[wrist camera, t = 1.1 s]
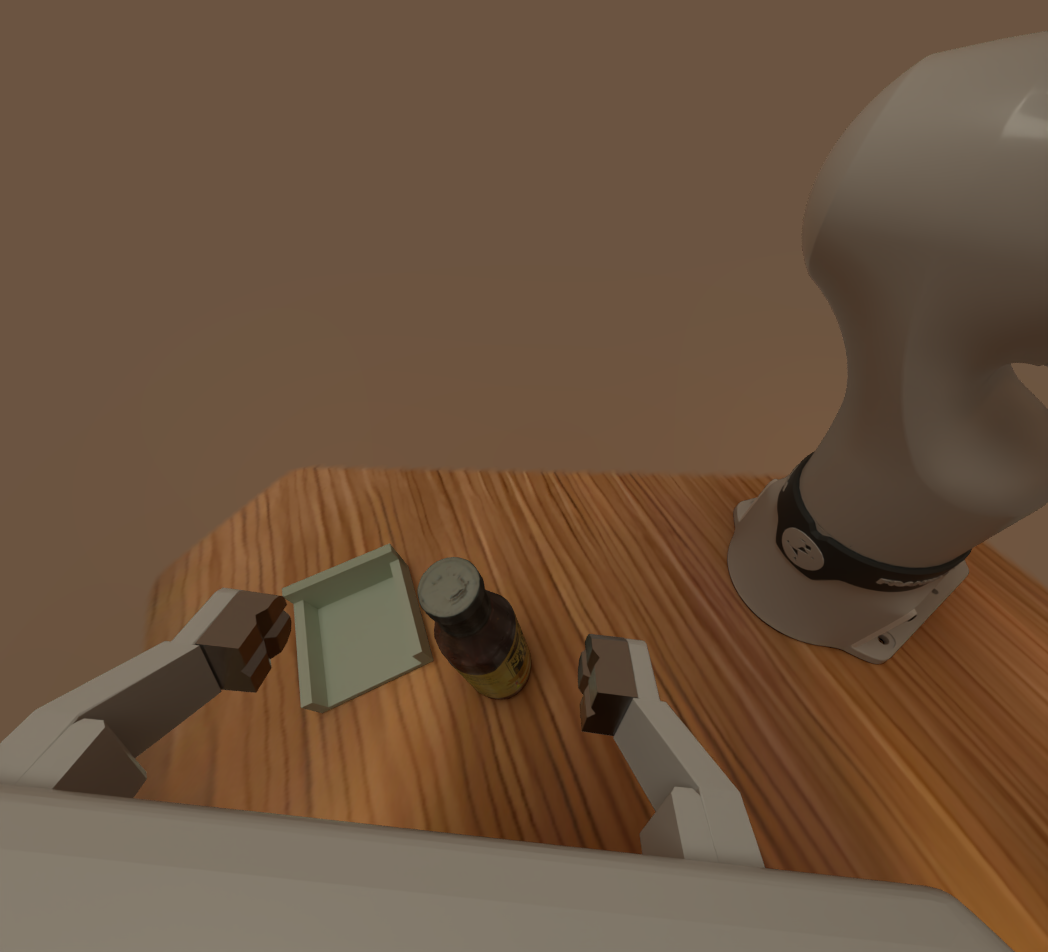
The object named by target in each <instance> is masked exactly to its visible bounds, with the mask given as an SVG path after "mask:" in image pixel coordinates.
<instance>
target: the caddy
mask: <svg viewBox="0 0 1048 952" xmlns="http://www.w3.org/2000/svg"><path fill="white" fill-rule="evenodd" d="M282 595H283V596H284V598H285V599H286V600H288V601H290V602H291V603H293V604H294V615H295V629H296V643H297V657H298V671H299V686H300V700H301V708H304V709H308V710H312V711H316V712H320V713H324V712H326V711H328V710H330V709H332V708H334V707H336V706H339V705H341V704H343V703H345V702H347V701H349V700H351V699H353V698H356V697H358V696H360V695H362V694H364V693H366V692H368V691H370V690H372V689H375V688H377V687H379V686H381V685H383V684H385V683H387V682H389V681H392V680H394V679H396V678H398V677H400V676H402V675H404V674H406V673H409V672H411V671H413V670H415V669H417V668H419V667H421V666H423V665H426V664H428V663H430V662H432V661H434V660H433V657H432V653H431V649H430V646H429V642H428V638H427V634H426V631H425V627H424V623H423V620H422V616H421V612H420V608H419V605H418V601H417V597H416V593H415V590H414V586H413V582H412V579H411V575H410V571H409V567H408V565H407V564H406V563H405V562H404V560H403V559H402V558H401V557H400V555H399V554H398V553H397V552H396V551H395V549H394V548H393V547H392V546H391V544H388V545H385V546H383V547H380V548H378V549H376V550H373V551H371V552H368V553H366V554H364V555H361V556H359V557H356V558H354V559H352V560H349V561H347V562H345V563H342V564H340V565H337V566H335V567H333V568H330V569H328V570H325V571H323V572H321V573H318V574H316V575H313V576H311V577H309V578H306V579H304V580H302V581H299V582H297V583H294V584H292V585H290V586H287V587H285V588H282Z"/></svg>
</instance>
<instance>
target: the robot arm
mask: <svg viewBox="0 0 1048 952" xmlns="http://www.w3.org/2000/svg"><path fill="white" fill-rule="evenodd" d="M802 251H803V256H804V261H805V265H806V268H807V271H808V274H809V276H810V277H811V279H812V280H813V281H814V282H815V284H816V285H817V286H818V287H819V289H820V290H821V292H822V293H823V295H824V296H825V298H826V299H827V301H828V303H829V305H830V306H831V309H832V310H833V312H834V314H835V316H836V319H837V321H838V324H839V327H840V330H841V332H842V336H843V340H844V344H845V348H846V355H847V364H848V365H847V366H848V367H847V368H848V379H847V388H846V393H845V397H844V400H843V403H842V405H841V407H840V409H839V411H838V413H837V415H836V417H835V419H834V421H833V423H832V425H831V427H830V428H829V430H828V432H827V433H826V435H825V437H824V438H823V440H822V441H821V443H820V445H819V446H818V448H817V449H816V451H815V452H813V453H811V454H810V455H808V456H807V457H806V458H805V459H804V460H802V461H801V463H800V464H798V465H797V466H796V467H795V468H794V469H793V471H792V472H791V473H790V475H788V476H787V477H785V478H783V479H780V480H778V479H774V480H772V481H771V482H770V483H769V484H768V485H767V486H766V487H765V488H764V490H763V491H762V492H761V493H760V495H759V496H758V497H757V498H754V499H749V500H745V501H742V502H740V503H739V504H738V505H737V506H736V507H735V509H734V523H735V532H734V535H733V537H732V540H731V542H730V545H729V549H728V569H729V573H730V576H731V579H732V582H733V584H734V586H735V588H736V590H737V592H738V593H739V595H740V596H741V598H742V599H743V601H744V602H745V603H746V604H747V606H748V607H749V608H750V609H751V610H752V611H753V612H754V613H755V614H756V615H757V616H758V617H759V618H761V619H762V620H763V621H764V622H766V623H767V624H768V625H770V626H771V627H773V628H774V629H776V630H778V631H779V632H781V633H783V634H785V635H787V636H789V637H792V638H794V639H797V640H800V641H803V642H806V643H810V644H815V645H821V646H828V647H834V648H838V649H842V650H844V651H846V652H848V653H850V654H852V655H854V656H856V657H858V658H860V659H862V660H865V661H867V662H870V663H874V664H881V663H884V662H885V661H887V660H888V659H890V658H891V657H892V656H893V655H894V654H895V652H896V651H897V650H898V649H899V648H900V647H901V646H902V645H903V644H904V643H905V642H906V641H907V640H908V639H909V638H910V637H911V635H912V634H913V633H914V632H915V631H916V630H917V629H918V628H919V627H920V626H921V625H922V624H923V623H924V622H925V621H926V619H927V618H928V617H929V616H930V615H931V614H932V613H933V612H934V611H935V610H936V609H937V608H938V607H939V606H940V605H941V604H942V602H943V601H944V600H945V599H946V598H947V597H948V596H949V595H950V594H951V593H952V592H953V591H954V590H955V589H956V588H957V586H958V585H959V584H960V583H961V582H962V581H963V580H964V579H965V578H966V577H967V575H968V574H969V569H968V566H967V564H966V562H965V560H964V559H965V558H966V557H967V556H968V555H969V554H970V552H971V550H972V548H973V547H975V546H977V545H979V544H980V543H982V542H984V541H985V540H987V539H989V538H990V537H992V536H994V535H995V534H997V533H999V532H1001V531H1002V530H1004V529H1006V528H1007V527H1009V526H1011V525H1013V524H1014V523H1016V522H1018V521H1019V520H1021V519H1023V518H1025V517H1026V516H1028V515H1030V514H1031V513H1033V512H1035V511H1037V510H1038V509H1040V508H1041V507H1043V506H1044V505H1045V504H1046V503H1047V502H1048V409H1047V408H1046V407H1045V406H1044V405H1043V403H1042V402H1040V400H1039V399H1038V398H1037V397H1036V396H1035V395H1034V394H1033V393H1032V392H1031V391H1030V390H1029V389H1028V388H1027V387H1025V385H1024V384H1023V383H1022V382H1021V381H1020V380H1019V379H1018V377H1017V375H1016V374H1015V372H1014V370H1013V368H1012V366H1011V363H1027V364H1032V365H1036V366H1041V365H1044V366H1048V31H1044V32H1038V33H1033V34H1027V35H1021V36H1016V37H1010V38H1004V39H1000V40H995V41H990V42H986V43H981V44H976V45H972V46H967V47H963V48H958V49H953V50H949V51H944V52H939V53H935V54H931V55H929V56H927V57H925V58H924V59H922V60H921V61H920V62H918V63H917V64H915V65H914V66H913V67H911V68H910V69H908V70H907V71H906V72H904V73H903V74H902V75H901V76H899V77H898V78H897V79H896V80H895V81H893V82H892V83H891V84H890V85H888V86H887V87H886V88H885V89H884V90H883V91H882V92H881V93H879V94H878V95H877V96H876V97H875V98H874V99H873V100H872V101H871V102H870V103H869V104H868V105H867V106H866V107H865V108H864V109H863V110H862V112H861V113H860V114H859V115H858V116H857V117H856V118H855V119H854V120H853V122H852V123H851V124H850V125H849V126H848V128H847V129H846V130H845V132H844V133H843V134H842V136H841V137H840V138H839V140H838V141H837V142H836V144H835V145H834V147H833V148H832V150H831V151H830V153H829V155H828V156H827V158H826V160H825V162H824V163H823V165H822V167H821V169H820V171H819V173H818V175H817V177H816V179H815V182H814V184H813V187H812V190H811V192H810V195H809V197H808V201H807V204H806V209H805V214H804V218H803V225H802ZM286 605H287V604H286V601H285V598H284V596H278V595H271V594H264V593H257V592H250V591H244V590H237V589H229V588H222V589H220V590H218V591H217V592H215V593H214V594H213V595H212V597H211V598H210V599H209V600H208V601H207V602H206V603H205V604H204V605H203V607H202V608H201V609H200V610H199V611H198V612H197V613H196V614H195V616H194V617H193V618H192V619H191V620H190V621H189V622H188V623H187V624H186V626H185V627H184V628H183V629H182V630H181V631H180V632H179V633H178V635H177V636H176V637H175V638H174V639H173V640H172V641H171V642H169V641H164V642H162V643H161V644H159V645H157V646H155V647H153V648H151V649H149V650H147V651H145V652H144V653H142V654H140V655H138V656H136V657H134V658H132V659H131V660H129V661H127V662H125V663H123V664H121V665H119V666H117V667H115V668H114V669H112V670H110V671H108V672H106V673H104V674H102V675H100V676H98V677H97V678H95V679H93V680H91V681H89V682H87V683H85V684H83V685H82V686H80V687H78V688H76V689H74V690H72V691H70V692H68V693H67V694H65V695H63V696H61V697H59V698H57V699H56V700H53V701H51V702H50V703H48V704H46V705H44V706H42V707H40V708H38V709H37V710H35V711H34V712H33V713H32V714H30V715H29V716H28V717H27V718H26V719H25V720H24V721H23V722H22V723H21V724H20V725H19V726H18V727H17V728H16V729H15V730H14V731H13V732H12V733H11V734H10V735H9V736H7V737H6V739H4V740H3V741H2V742H1V743H0V952H1014V951H1013V950H1012V949H1011V948H1010V947H1009V946H1008V945H1007V944H1006V943H1005V942H1004V941H1003V940H1002V939H1001V938H1000V937H999V936H997V935H996V934H995V933H994V932H993V931H992V930H991V929H990V928H989V927H988V926H987V925H986V924H984V923H983V922H982V921H981V920H980V919H979V918H978V917H977V916H976V915H975V914H974V913H972V912H971V911H970V910H969V909H968V908H967V907H966V906H964V905H963V904H962V903H961V902H960V901H959V900H958V899H956V898H955V897H953V896H952V895H950V894H949V893H947V892H945V891H943V890H941V889H937V888H933V887H929V886H923V885H914V884H905V883H896V882H887V881H878V880H869V879H860V878H851V877H842V876H833V875H824V874H815V873H806V872H797V871H788V870H778V869H769V868H765V866H764V863H763V860H762V857H761V854H760V851H759V848H758V845H757V842H756V839H755V836H754V833H753V830H752V827H751V824H750V821H749V818H748V815H747V812H746V809H745V806H744V803H743V800H742V797H741V794H740V792H739V791H738V790H737V788H736V787H735V786H734V785H733V784H732V782H731V781H730V780H729V779H728V777H727V776H726V775H725V774H724V773H723V771H722V770H721V769H720V768H719V766H718V765H717V764H716V763H715V762H714V760H713V759H712V758H711V757H710V755H709V754H708V753H707V752H706V751H705V749H704V748H703V747H702V746H701V744H700V743H699V742H698V741H697V740H696V738H695V737H694V736H693V735H692V733H691V732H690V731H689V730H688V728H687V727H686V726H685V725H684V724H683V722H682V721H681V720H680V719H679V717H678V716H677V715H676V714H675V713H674V711H673V710H672V709H671V708H670V706H669V705H668V704H667V703H666V702H663V701H660V698H659V694H658V690H657V685H656V681H655V677H654V673H653V669H652V665H651V660H650V656H649V652H648V648H647V645H646V643H645V642H644V641H642V640H633V639H625V638H621V637H612V636H603V635H594V634H589V635H588V636H587V638H586V641H585V648H586V650H584V651H583V652H582V653H581V656H580V659H579V666H578V688H579V690H580V691H581V693H582V694H583V697H582V700H581V702H580V718H581V731H583V732H590V733H596V734H603V735H610V736H614V737H613V738H614V740H615V742H616V743H617V745H618V747H619V749H620V750H621V752H622V754H623V755H624V757H625V759H626V761H627V762H628V764H629V766H630V768H631V769H632V771H633V773H634V775H635V776H636V778H637V780H638V782H639V783H640V785H641V787H642V788H643V790H644V792H645V794H646V795H647V797H648V799H649V801H650V802H651V804H652V806H653V808H654V809H655V811H656V812H655V814H654V815H653V816H652V818H651V819H650V820H649V822H648V823H647V824H646V826H645V827H644V828H643V830H642V831H641V832H640V840H641V847H642V854H634V853H625V852H616V851H607V850H598V849H589V848H580V847H571V846H561V845H552V844H543V843H534V842H525V841H516V840H507V839H498V838H489V837H480V836H471V835H462V834H453V833H444V832H435V831H426V830H417V829H408V828H399V827H390V826H381V825H372V824H363V823H354V822H344V821H335V820H326V819H317V818H308V817H299V816H290V815H281V814H272V813H263V812H254V811H245V810H236V809H227V808H218V807H209V806H200V805H191V804H181V803H172V802H163V801H154V800H145V799H136V798H134V796H135V795H136V793H137V792H138V791H139V789H140V788H141V786H142V785H143V783H144V782H145V781H146V779H147V776H146V771H145V770H144V769H143V768H142V766H141V765H140V764H139V763H138V762H137V760H136V759H135V758H136V757H137V756H139V755H140V754H141V753H143V752H144V751H145V750H146V749H148V748H149V747H150V746H152V745H153V744H154V743H156V742H157V741H158V740H159V739H161V738H162V737H163V736H165V735H166V734H167V733H169V732H170V731H171V730H172V729H174V728H175V727H176V726H178V725H179V724H180V723H181V722H183V721H184V720H185V719H187V718H188V717H189V716H191V715H192V714H193V713H194V712H196V711H197V710H198V709H200V708H201V707H202V706H204V705H205V704H206V703H207V702H209V701H210V700H211V699H213V698H214V697H215V696H216V695H218V694H219V693H220V692H221V690H232V691H243V692H255V693H256V692H257V691H258V689H259V687H260V686H261V684H262V682H263V681H264V679H265V678H266V676H267V674H268V673H269V671H270V670H271V660H270V659H271V658H273V657H274V656H276V655H277V654H279V653H281V652H282V650H283V648H284V647H285V645H286V643H287V641H288V638H289V635H290V632H291V618H290V616H289V615H288V614H287V613H286V612H285V611H284V608H285V607H286ZM878 637H879V638H881V639H882V640H883V641H884V644H882V643H880V642H879V640H878Z"/></svg>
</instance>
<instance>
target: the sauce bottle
mask: <svg viewBox="0 0 1048 952" xmlns="http://www.w3.org/2000/svg"><path fill="white" fill-rule="evenodd" d="M418 598H419V602H420V605H421V607H422V609H423V610H424V611H425V612H426V614H428V615H429V617H430V618H431V619H433V620H434V621H435V626H434V627H435V628H434V637H435V639H436V642H437V644H438V646H439V649H440V650H441V652H442V654H443V655H444V656H445V657H446V658H447V660H448V661H449V663H450V664H451V665H452V666H453V667H454V668H455V669H456V670H457V671H458V672H459V673H460V674H461V675H462V676H463V677H464V678H465V679H466V680H467V681H468V682H469V683H470V684H471V685H472V686H473V687H474V688H475V689H476V690H477V691H478V692H479V693H481V694H483V695H485V696H487V697H489V698H494V699H506V698H510V697H512V696H514V695H516V694H517V693H518V692H519V691H520V690H521V689H522V688H523V687H524V685H525V684H526V683H527V681H528V677H529V674H530V667H531V656H530V651H529V648H528V646H527V643H526V641H525V638H524V636H523V633H522V630H521V628H520V625H519V623H518V621H517V618H516V615H515V613H514V611H513V608H512V606H511V605H510V603H509V602H508V601H507V600H506V599H505V598H504V597H502V596H500V595H498V594H495V593H493V592H490V591H487V590H485V587H484V581H483V578H482V577H481V575H480V573H479V572H478V570H477V569H476V567H475V566H474V565H473V564H472V563H471V562H470V561H468V560H465V559H462V558H457V557H451V558H445V559H442V560H440V561H437V562H436V563H434V564H433V565H432V566H430V567H429V568H428V569H427V571H426V572H425V573H424V574H423V576H422V578H421V580H420V583H419V586H418Z"/></svg>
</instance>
